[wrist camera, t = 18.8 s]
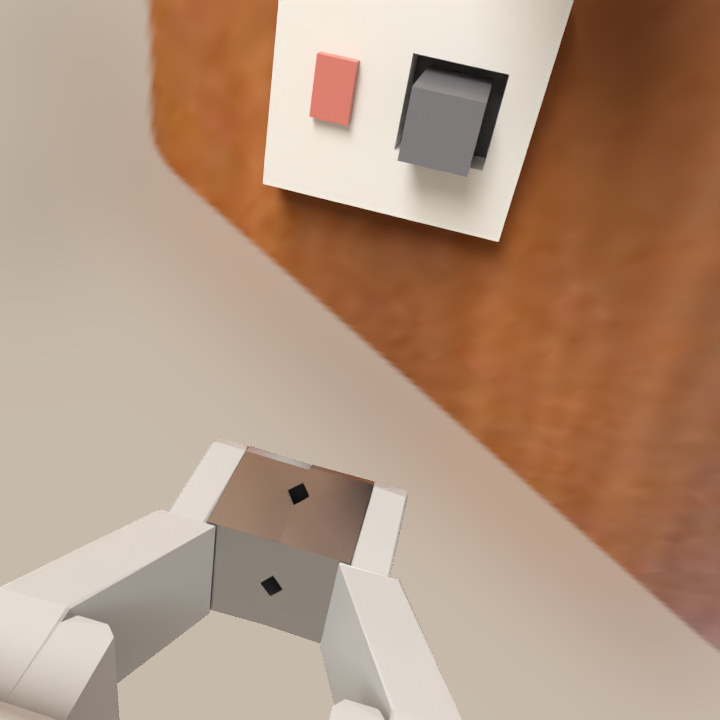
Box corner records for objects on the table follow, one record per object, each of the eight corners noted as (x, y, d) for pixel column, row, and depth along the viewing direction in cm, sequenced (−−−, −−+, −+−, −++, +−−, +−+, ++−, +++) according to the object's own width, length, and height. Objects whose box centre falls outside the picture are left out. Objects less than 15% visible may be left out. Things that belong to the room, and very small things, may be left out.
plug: (493, 78, 41) (486, 103, 35) (476, 144, 43) (467, 177, 37) (429, 64, 41) (412, 86, 35) (415, 130, 43) (397, 160, 37)
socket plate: (571, -5, 38) (574, 1, 34) (500, 225, 45) (497, 246, 42) (300, -62, 39) (279, -62, 36) (277, 170, 47) (258, 187, 44)
